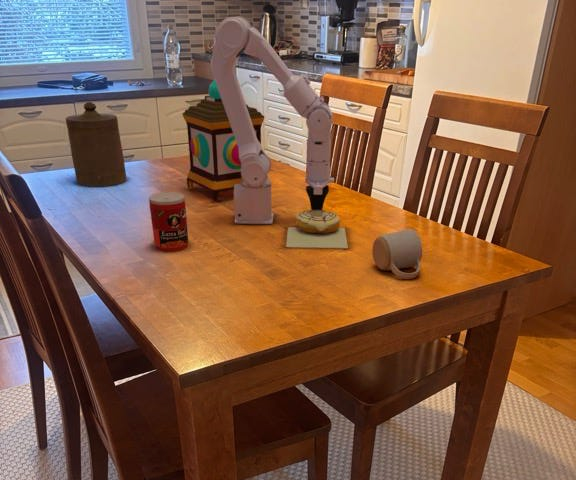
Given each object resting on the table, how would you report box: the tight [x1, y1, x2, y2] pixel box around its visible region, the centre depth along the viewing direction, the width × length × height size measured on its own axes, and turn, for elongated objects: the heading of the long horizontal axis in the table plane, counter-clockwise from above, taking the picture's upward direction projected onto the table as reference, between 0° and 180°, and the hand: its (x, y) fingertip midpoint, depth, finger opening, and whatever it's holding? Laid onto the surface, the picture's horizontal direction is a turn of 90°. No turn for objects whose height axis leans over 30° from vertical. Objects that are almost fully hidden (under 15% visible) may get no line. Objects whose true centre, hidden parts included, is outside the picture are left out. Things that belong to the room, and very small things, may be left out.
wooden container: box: [65, 101, 127, 188], centre depth 174 cm, size 15×15×22 cm
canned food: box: [148, 191, 189, 252], centre depth 129 cm, size 8×8×11 cm
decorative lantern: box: [182, 79, 265, 203], centre depth 162 cm, size 20×20×30 cm
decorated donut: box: [295, 209, 341, 234], centre depth 141 cm, size 10×11×4 cm
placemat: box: [285, 226, 349, 250], centre depth 137 cm, size 14×14×1 cm
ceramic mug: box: [371, 228, 423, 280], centre depth 119 cm, size 11×8×8 cm
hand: (316, 216), depth 147 cm, fingers closed
